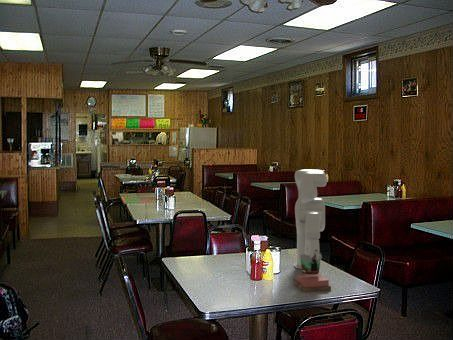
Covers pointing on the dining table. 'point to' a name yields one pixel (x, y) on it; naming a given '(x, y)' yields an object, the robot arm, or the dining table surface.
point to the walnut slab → (312, 289)
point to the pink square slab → (312, 280)
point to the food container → (309, 264)
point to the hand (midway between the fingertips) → (312, 268)
